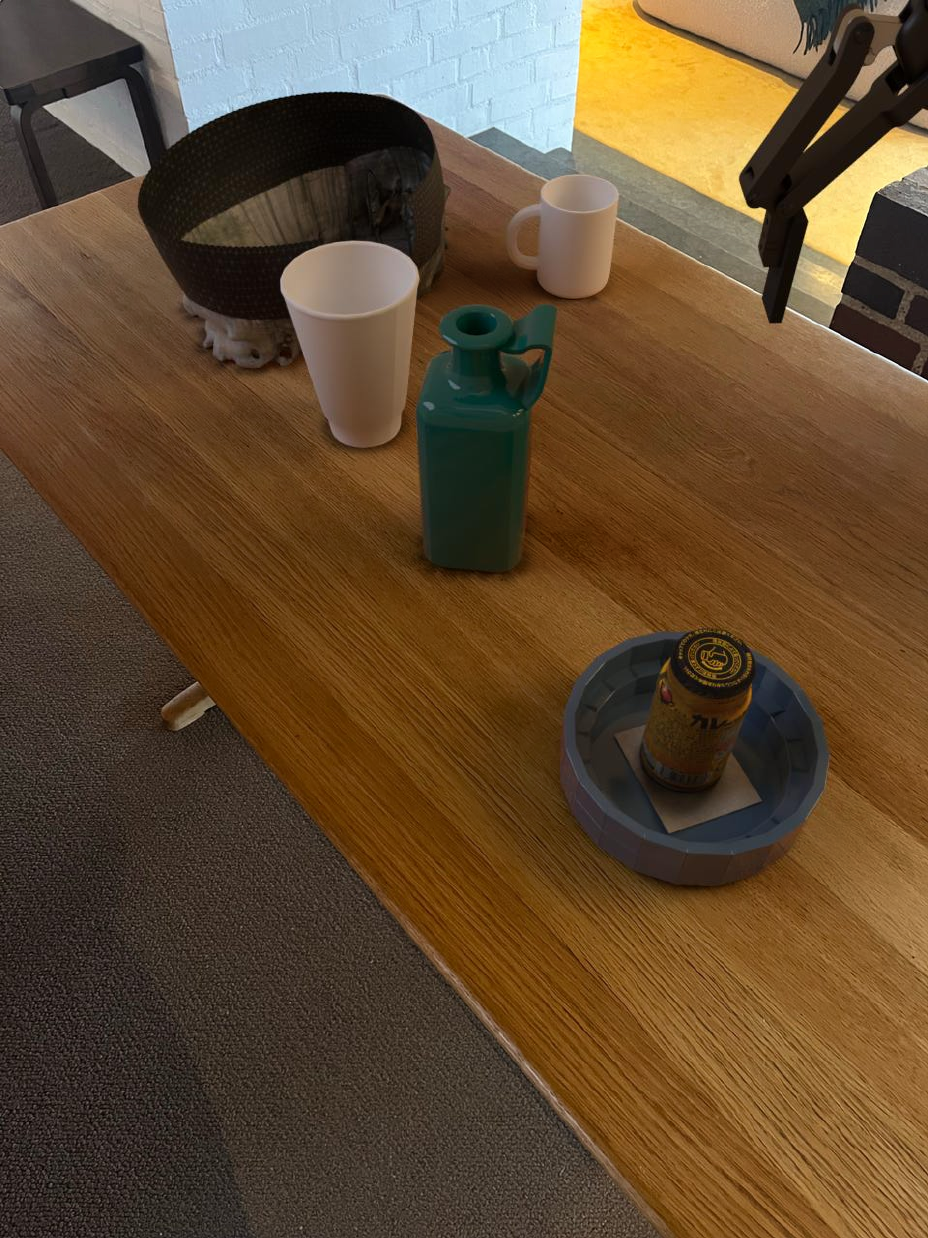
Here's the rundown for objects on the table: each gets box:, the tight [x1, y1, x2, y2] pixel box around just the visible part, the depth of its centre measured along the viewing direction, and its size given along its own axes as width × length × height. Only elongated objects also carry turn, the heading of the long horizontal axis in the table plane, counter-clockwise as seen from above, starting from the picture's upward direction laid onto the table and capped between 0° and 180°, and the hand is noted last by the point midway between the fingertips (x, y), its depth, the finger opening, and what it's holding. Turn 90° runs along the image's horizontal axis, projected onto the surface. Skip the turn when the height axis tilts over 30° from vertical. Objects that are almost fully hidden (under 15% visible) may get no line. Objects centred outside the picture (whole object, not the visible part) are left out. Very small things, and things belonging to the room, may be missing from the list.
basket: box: [137, 91, 452, 369], centre depth 102 cm, size 28×35×16 cm
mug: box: [504, 173, 620, 300], centre depth 106 cm, size 12×8×10 cm
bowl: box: [558, 630, 831, 887], centre depth 67 cm, size 18×18×6 cm
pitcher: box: [414, 303, 559, 574], centre depth 75 cm, size 10×8×22 cm
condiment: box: [614, 627, 762, 833], centre depth 64 cm, size 7×8×12 cm
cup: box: [280, 241, 420, 449], centre depth 88 cm, size 12×12×16 cm
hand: (883, 309), depth 59 cm, fingers open, 13 cm apart
